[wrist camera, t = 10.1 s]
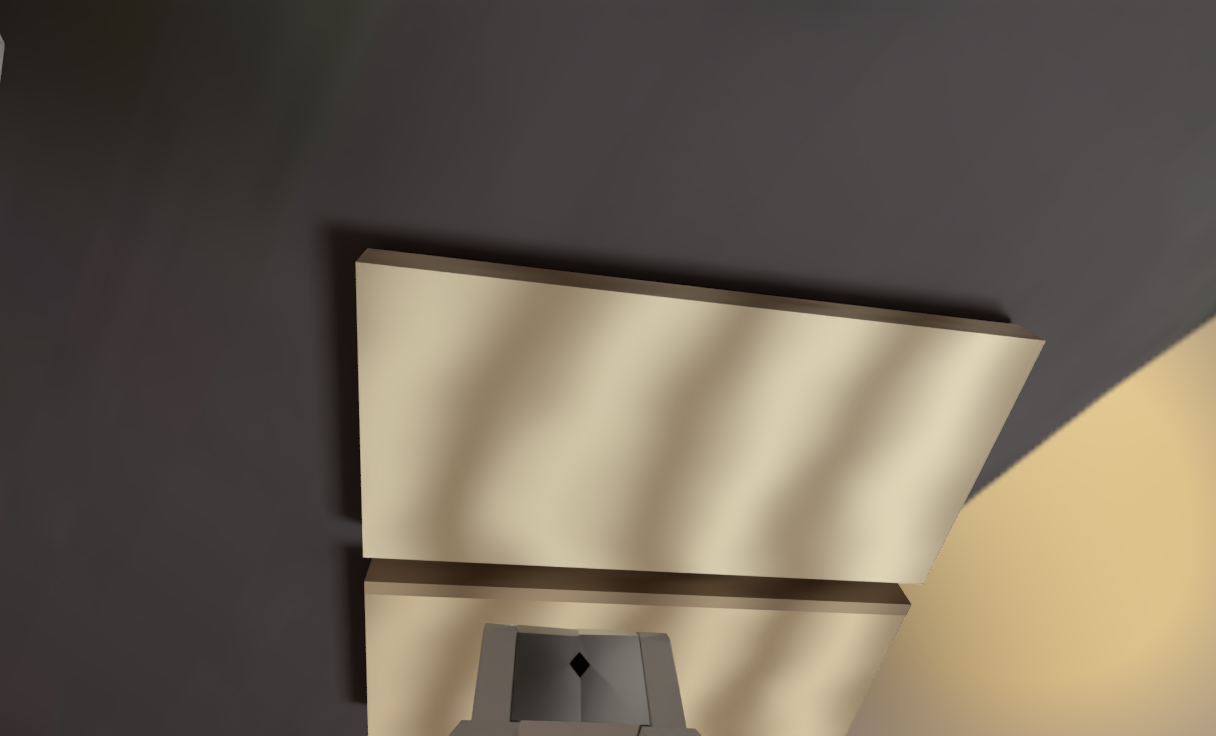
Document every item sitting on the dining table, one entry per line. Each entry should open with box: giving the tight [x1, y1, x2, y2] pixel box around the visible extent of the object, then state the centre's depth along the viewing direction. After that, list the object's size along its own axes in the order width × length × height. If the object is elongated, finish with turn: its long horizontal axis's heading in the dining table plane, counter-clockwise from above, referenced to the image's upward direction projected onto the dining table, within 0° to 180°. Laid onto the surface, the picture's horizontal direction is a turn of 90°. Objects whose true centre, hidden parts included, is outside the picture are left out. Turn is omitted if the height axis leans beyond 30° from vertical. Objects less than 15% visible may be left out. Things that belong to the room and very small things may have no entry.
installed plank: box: [364, 558, 911, 736], centre depth 30 cm, size 24×10×2 cm, turn 81°
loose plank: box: [356, 248, 1045, 584], centre depth 24 cm, size 24×12×2 cm, turn 81°
